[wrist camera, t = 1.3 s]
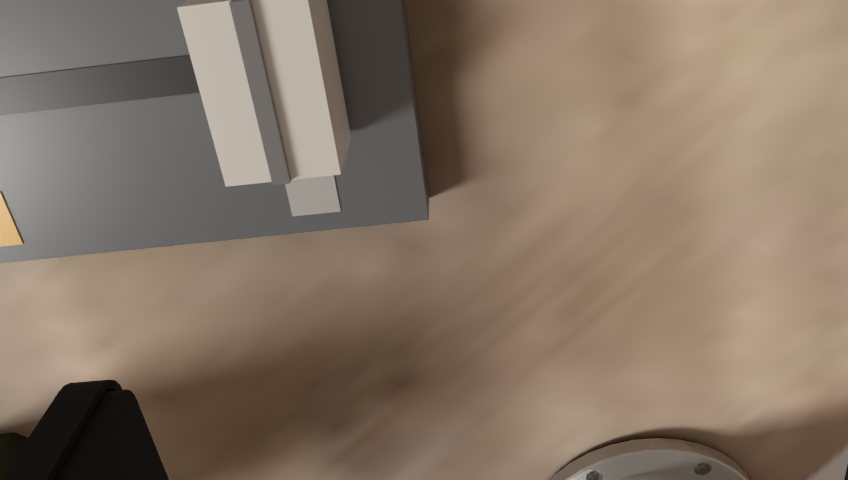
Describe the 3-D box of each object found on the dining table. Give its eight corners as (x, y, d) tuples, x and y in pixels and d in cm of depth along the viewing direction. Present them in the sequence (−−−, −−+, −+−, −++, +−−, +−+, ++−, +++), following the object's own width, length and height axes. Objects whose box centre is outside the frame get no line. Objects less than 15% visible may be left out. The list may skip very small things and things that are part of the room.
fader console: (381, -170, 25) (377, -171, 23) (428, 198, 32) (428, 220, 30) (-296, -77, 27) (-349, -70, 25) (-117, 255, 33) (-148, 278, 31)
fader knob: (321, -28, 25) (304, -7, 22) (351, 137, 28) (339, 178, 24) (207, -13, 25) (173, 9, 22) (248, 149, 28) (223, 190, 25)
